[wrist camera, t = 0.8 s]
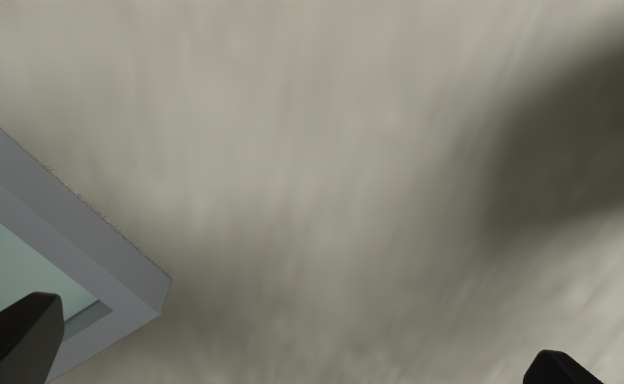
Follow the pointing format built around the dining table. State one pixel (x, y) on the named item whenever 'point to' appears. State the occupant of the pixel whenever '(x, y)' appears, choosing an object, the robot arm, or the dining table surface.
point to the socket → (70, 260)
